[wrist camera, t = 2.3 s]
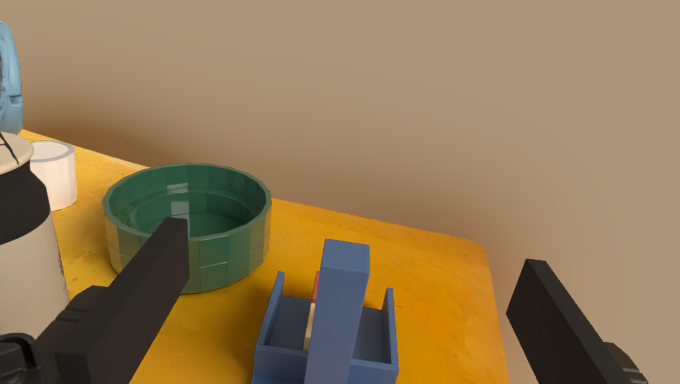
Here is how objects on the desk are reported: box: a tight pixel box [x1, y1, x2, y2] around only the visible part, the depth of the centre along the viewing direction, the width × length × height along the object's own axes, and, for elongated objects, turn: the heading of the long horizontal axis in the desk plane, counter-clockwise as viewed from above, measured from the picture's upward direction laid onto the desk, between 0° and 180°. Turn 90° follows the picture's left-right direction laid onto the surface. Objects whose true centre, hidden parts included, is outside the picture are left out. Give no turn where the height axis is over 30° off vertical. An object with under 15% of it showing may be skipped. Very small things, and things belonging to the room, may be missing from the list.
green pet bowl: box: [102, 163, 272, 294], centre depth 48 cm, size 17×17×7 cm
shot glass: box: [30, 141, 77, 211], centre depth 52 cm, size 7×7×7 cm
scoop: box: [250, 239, 399, 384], centre depth 34 cm, size 13×12×15 cm
